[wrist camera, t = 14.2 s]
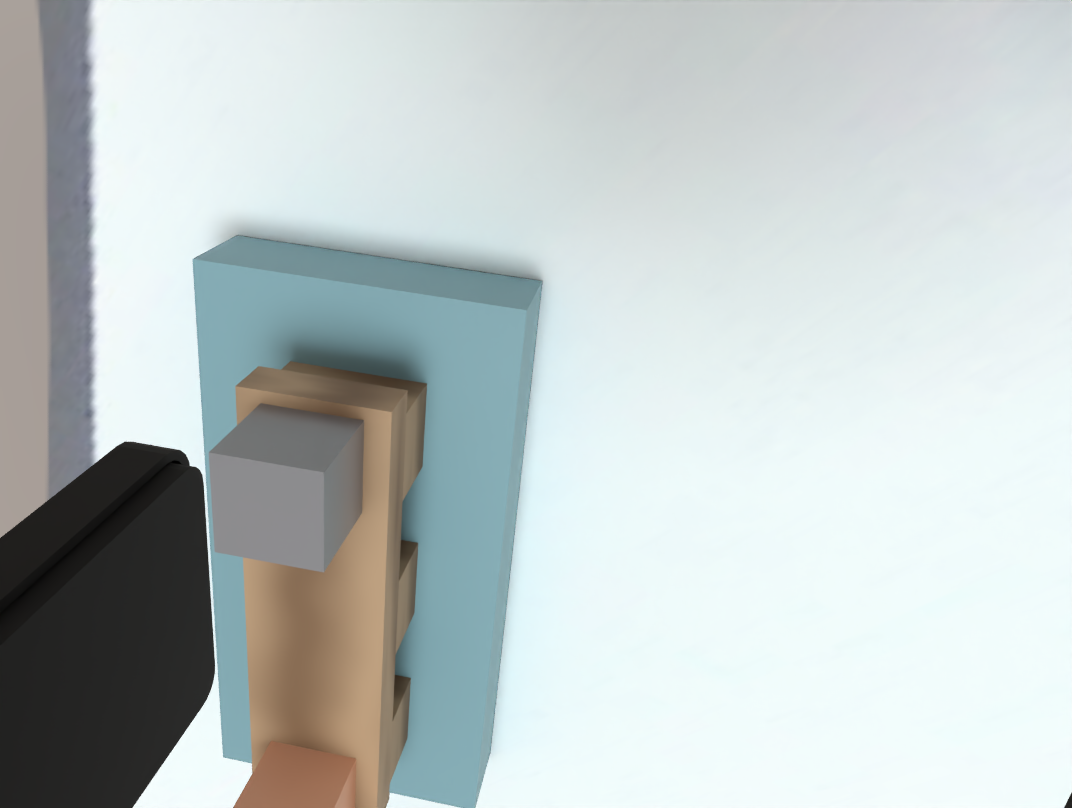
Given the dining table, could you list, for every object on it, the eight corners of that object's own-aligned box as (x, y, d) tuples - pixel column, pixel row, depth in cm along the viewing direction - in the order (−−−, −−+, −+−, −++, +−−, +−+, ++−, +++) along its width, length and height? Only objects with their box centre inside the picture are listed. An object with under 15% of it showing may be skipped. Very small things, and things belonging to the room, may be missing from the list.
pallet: (428, 361, 37) (391, 412, 33) (406, 752, 47) (375, 832, 42) (289, 339, 38) (235, 386, 34) (295, 729, 48) (254, 806, 43)
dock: (542, 280, 39) (526, 310, 36) (490, 753, 51) (474, 810, 48) (237, 235, 41) (192, 258, 37) (255, 705, 53) (223, 757, 49)
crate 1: (364, 420, 33) (323, 472, 30) (362, 512, 35) (323, 572, 31) (260, 403, 34) (208, 452, 30) (263, 495, 35) (214, 552, 32)
